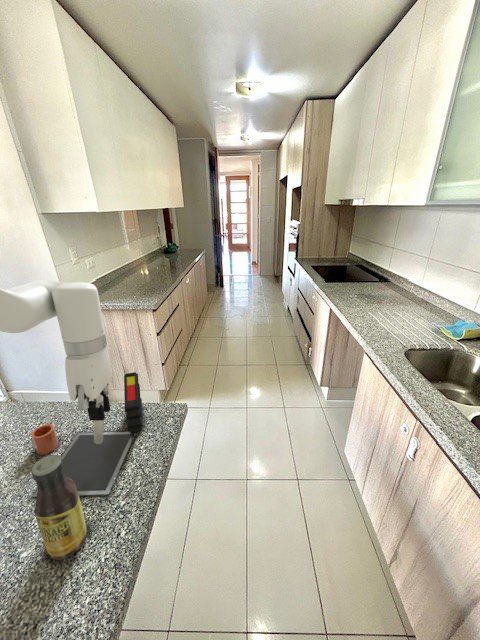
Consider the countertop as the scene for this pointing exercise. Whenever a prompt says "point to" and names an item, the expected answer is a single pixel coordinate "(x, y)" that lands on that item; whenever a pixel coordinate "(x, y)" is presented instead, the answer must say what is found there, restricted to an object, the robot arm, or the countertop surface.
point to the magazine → (133, 402)
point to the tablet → (95, 461)
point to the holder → (44, 439)
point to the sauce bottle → (58, 508)
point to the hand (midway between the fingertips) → (100, 414)
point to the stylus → (98, 427)
